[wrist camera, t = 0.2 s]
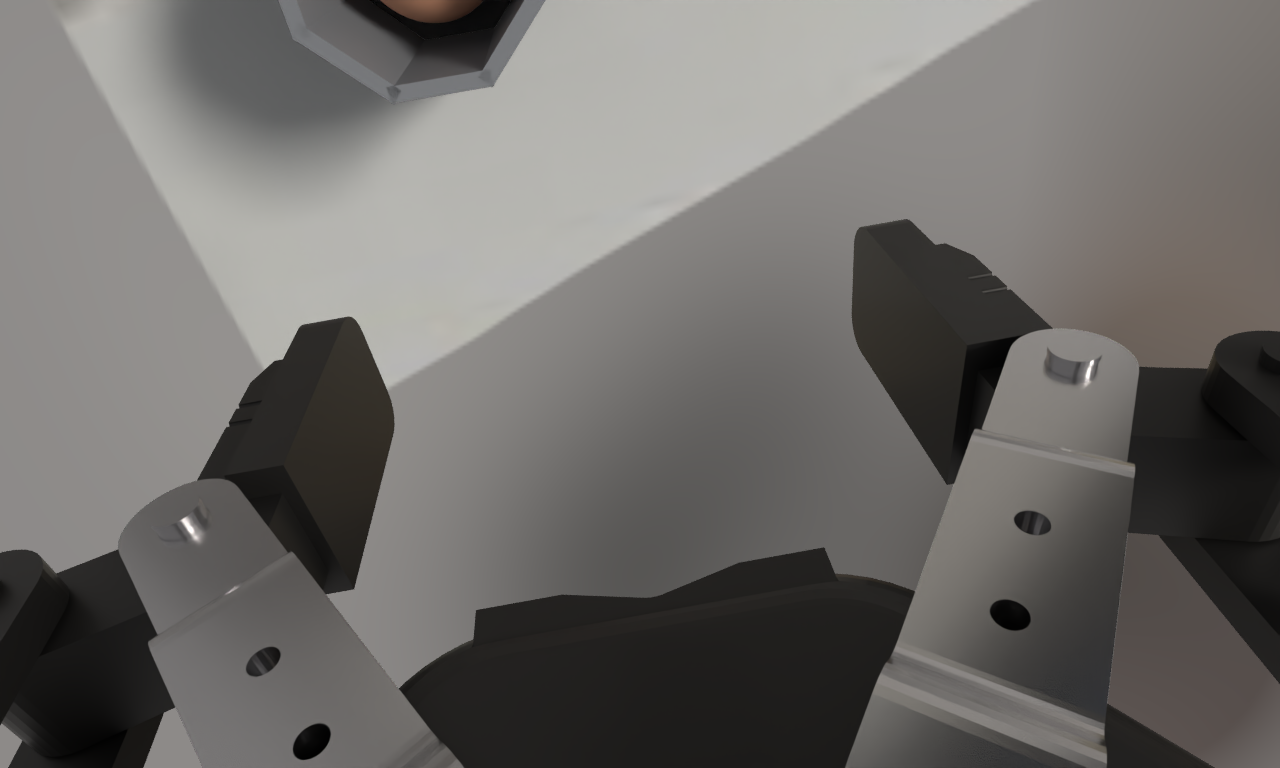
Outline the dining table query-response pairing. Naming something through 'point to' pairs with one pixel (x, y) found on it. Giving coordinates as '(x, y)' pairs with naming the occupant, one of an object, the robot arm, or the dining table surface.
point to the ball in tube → (433, 9)
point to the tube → (405, 47)
